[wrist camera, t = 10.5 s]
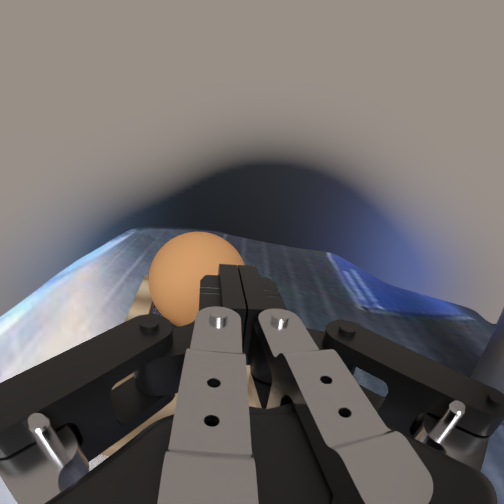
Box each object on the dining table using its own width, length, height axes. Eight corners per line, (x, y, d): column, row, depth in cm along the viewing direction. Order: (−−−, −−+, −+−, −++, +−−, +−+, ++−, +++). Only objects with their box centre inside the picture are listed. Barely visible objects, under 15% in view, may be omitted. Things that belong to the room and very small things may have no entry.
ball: (223, 337, 28) (216, 355, 39) (272, 241, 34) (254, 282, 45) (119, 279, 29) (139, 313, 40) (179, 196, 35) (182, 245, 45)
